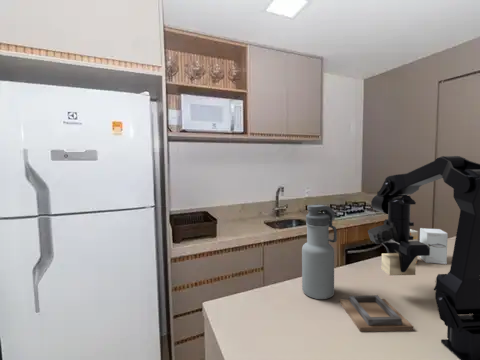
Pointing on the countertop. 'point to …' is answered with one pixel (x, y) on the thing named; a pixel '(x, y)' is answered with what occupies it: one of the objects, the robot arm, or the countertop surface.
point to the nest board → (374, 314)
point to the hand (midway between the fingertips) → (398, 268)
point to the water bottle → (318, 253)
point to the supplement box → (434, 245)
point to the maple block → (396, 265)
